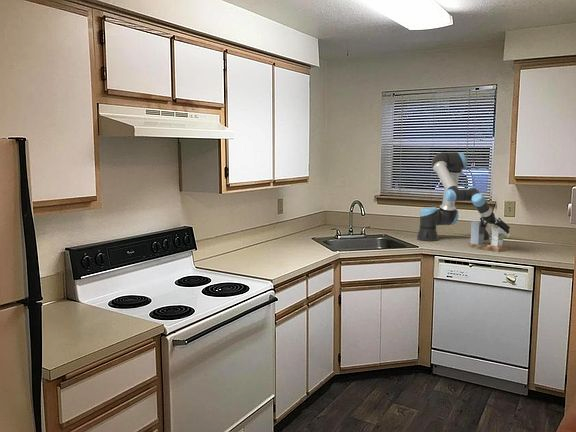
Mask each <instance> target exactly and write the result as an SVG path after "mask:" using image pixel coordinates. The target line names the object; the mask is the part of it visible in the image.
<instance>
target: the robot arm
mask: <svg viewBox="0 0 576 432" xmlns="http://www.w3.org/2000/svg"><path fill="white" fill-rule="evenodd" d="M431 167H432V170H433V172H435V173H436V175H437V176H438V179H439V181H440V182H441V184H442V186H443V187H444V189H443V196H442V197H443V198H442V201H441V204H440V205H439V208H437V207H435V206H432V207H431V206H429V207H424V208H421V210H420V214H419V230H418V233H417V235H416V240H419V241H424V242H436V241H439V235H438V231H437V226H452V225H455V224H457V222H458V219H459V211H458V209H457V207H456V206H455V204H456V202H471V203H472V205H473V206H474V207H475V209H476V210H477V212H478V213H479V215H480V218H479V221H481V223H480V226H481V227H483V228H485V230H486V231H487V232H488V234H489V235H490V236H491V228H490V226H489V225H488V224H490V225H491V224H492V225H497V226H498V227H500V228H501V229H503V230H504V235H505V236H506V237H507V238H509V237H510V236H511V233H510V229H511V227H510V226H509V225H508V224H507V223H505V221H503V220H502V219H501V217H498V218H496V216H495V215H496V214H495V213H494V211H493V209H492V208H491V206H490V205H489V203H488V201H487V199H486V198H485V196H484V195H483V194H482V193H481V192H480V191H479V190H478V189H477V188H476V187H475V186H469V187H467V188H465V189H459V187H458V185H459V177H460V174H461V173H462V172H463V170H465V169H466V167H467V158H466V155H465V153H464V152H458V151H454V152H453V151H447V152H445V151H443V152H442V151H441V152H438V153H436V154H435V155H434V156H433V158H432V161H431ZM484 222H485V224H484ZM486 225H487V226H486Z"/></svg>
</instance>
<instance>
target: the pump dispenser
mask: <svg viewBox="0 0 576 432" xmlns="http://www.w3.org/2000/svg"><path fill="white" fill-rule="evenodd" d="M487 225H488V224H487ZM487 225H486V226H487ZM490 240H491V234H490V235H489V234H488V232H487V231H486V230H485V234H484V243H485V244H489V242H490Z"/></svg>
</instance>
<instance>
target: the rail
mask: <svg viewBox="0 0 576 432" xmlns="http://www.w3.org/2000/svg"><path fill="white" fill-rule="evenodd" d="M467 247H469V248H475V249H480V250H484V251H485V250H486V251H491V252H497V253H500V252H507V251H508V245H505V244H503V246H500V247H497V246H491V245H490V243H486V244H485V243H484V244H479V245H477V244H471V242H469V243H467Z"/></svg>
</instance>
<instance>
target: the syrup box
mask: <svg viewBox="0 0 576 432" xmlns="http://www.w3.org/2000/svg"><path fill="white" fill-rule="evenodd" d="M490 229H491V234H490V239H489V242H490V243H489V244H490V245H491V246H497V247H500V246H503V245H504V237H505V232H504V230H503V229H501V228H500V227H498V226H497V225H494V224H492V225H491V228H490Z"/></svg>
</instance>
